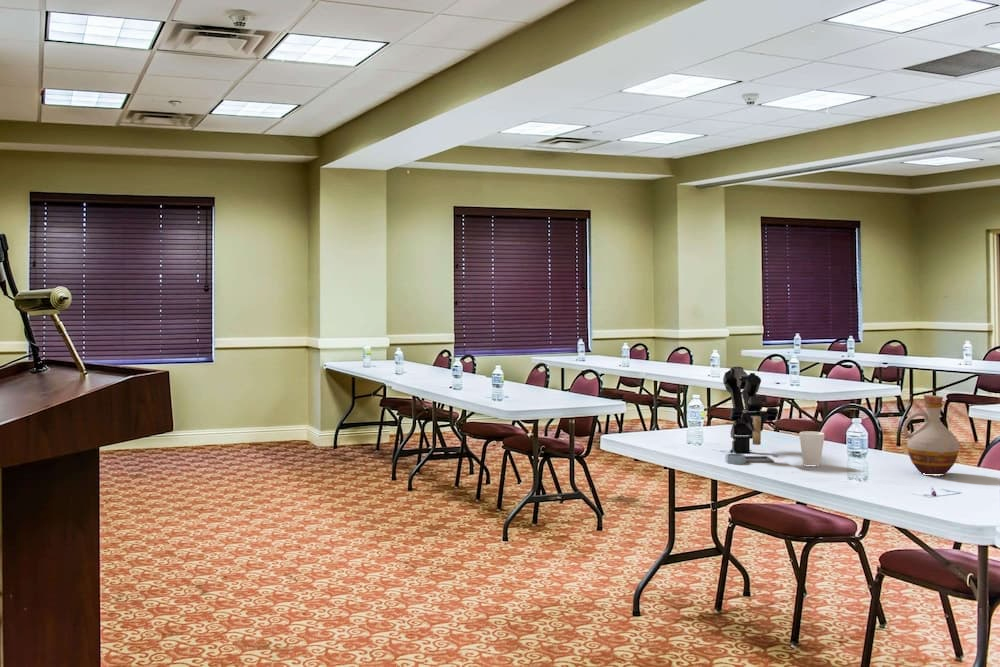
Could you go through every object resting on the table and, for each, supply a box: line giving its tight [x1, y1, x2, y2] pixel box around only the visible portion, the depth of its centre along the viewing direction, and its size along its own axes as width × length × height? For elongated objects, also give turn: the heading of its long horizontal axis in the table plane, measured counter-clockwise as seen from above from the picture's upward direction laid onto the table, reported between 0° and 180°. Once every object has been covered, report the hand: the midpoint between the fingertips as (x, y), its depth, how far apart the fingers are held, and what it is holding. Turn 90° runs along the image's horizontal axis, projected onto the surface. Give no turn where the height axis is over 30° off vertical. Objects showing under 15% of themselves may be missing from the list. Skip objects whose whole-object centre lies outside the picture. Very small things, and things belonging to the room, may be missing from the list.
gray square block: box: [725, 453, 746, 465], centre depth 369 cm, size 7×7×4 cm
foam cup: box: [798, 430, 825, 466], centre depth 366 cm, size 10×9×13 cm
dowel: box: [752, 417, 762, 446], centre depth 373 cm, size 3×3×11 cm
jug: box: [902, 394, 960, 475], centre depth 346 cm, size 20×18×30 cm
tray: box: [745, 455, 775, 464], centre depth 373 cm, size 10×11×2 cm
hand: (757, 430), depth 371 cm, fingers closed on dowel, 3 cm apart
